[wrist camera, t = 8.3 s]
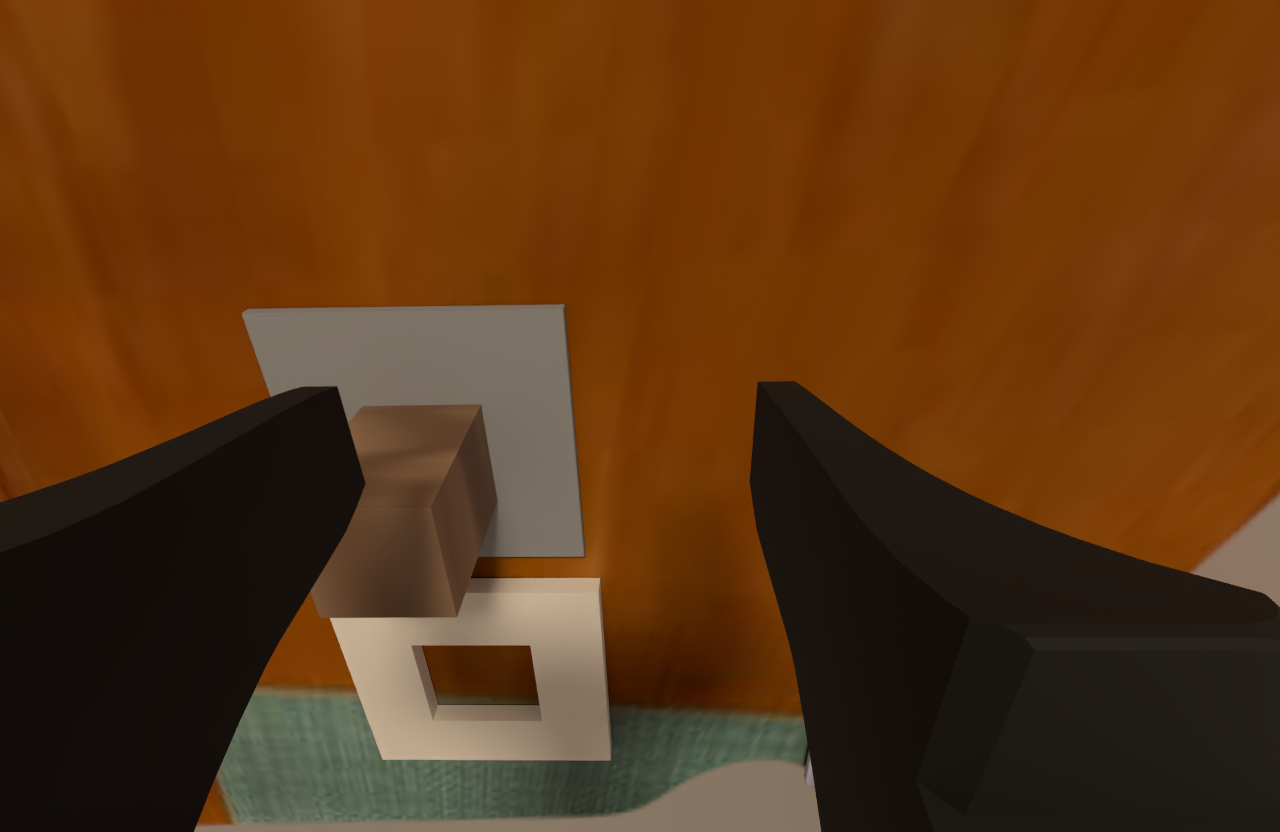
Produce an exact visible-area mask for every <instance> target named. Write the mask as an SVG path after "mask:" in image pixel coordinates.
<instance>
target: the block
mask: <svg viewBox="0 0 1280 832" xmlns="http://www.w3.org/2000/svg"><path fill="white" fill-rule="evenodd" d="M348 424H349V428H350V431H351V435H352V438H353V442H354V445H355V449H356V452H357V455H358V459H359V462H360V466H361V469H362V473H363V476H364V480H365V483H366V484H365V487H364V489H363V492H362V495H361V497H360V500H359V502H358V505H357V508H356V510H355V512H354V515H353V517H352V519H351V522H350V524H349V526H348V528H347V531H346V532H345V534H344V536H343V538H342V539H341V541H340V543H339V545H338V546H337V548H336V550H335V551H334V553H333V555H332V556H331V558H330V560H329V561H328V563H327V565H326V566H325V568H324V570H323V571H322V573H321V574H320V576H319V578H318V579H317V581H316V583H315V584H314V586H313V587H312V589H311V591H310V592H311V595H312V597H313V600H314V603H315V605H316V608H317V610H318V613H319V615H320V618H427V617H457V616H458V613H459V610H460V607H461V604H462V601H463V599H464V596H465V593H466V590H467V587H468V584H469V581H470V578H471V576H472V573H473V570H474V567H475V564H476V561H477V558H478V555H479V553H480V550H481V547H482V544H483V541H484V538H485V535H486V532H487V530H488V527H489V524H490V521H491V518H492V515H493V512H494V510H495V507H496V504H497V501H498V500H497V494H496V488H495V483H494V477H493V471H492V465H491V459H490V454H489V448H488V442H487V436H486V430H485V425H484V419H483V413H482V407H481V404H469V405H400V406H362V407H361V408H360V410H359V411H358V412H357V413H356V414H355V416H354V417H353V418H352V419H351V420H350V422H349V423H348Z"/></svg>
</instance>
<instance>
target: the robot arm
mask: <svg viewBox="0 0 1280 832" xmlns="http://www.w3.org/2000/svg"><path fill="white" fill-rule="evenodd" d="M365 484H366V483H365V480H364V476H363V473H362V469H361V466H360V462H359V459H358V455H357V452H356V449H355V445H354V442H353V438H352V435H351V431H350V428H349V424H348V421H347V418H346V414H345V411H344V407H343V404H342V400H341V397H340V393H339V390H338V387H337V386H308V387H299V388H296V389H292V390H289V391H286V392H283V393H280V394H277V395H274V396H272V397H269V398H267V399H264V400H262V401H259V402H257V403H255V404H252V405H250V406H247V407H245V408H243V409H240V410H238V411H236V412H233V413H231V414H229V415H227V416H224V417H222V418H220V419H218V420H215V421H213V422H211V423H208V424H206V425H204V426H202V427H199V428H197V429H195V430H192V431H190V432H188V433H186V434H183V435H181V436H179V437H176V438H174V439H171V440H169V441H166V442H164V443H162V444H159V445H157V446H154V447H152V448H149V449H147V450H145V451H142V452H140V453H137V454H135V455H132V456H130V457H128V458H125V459H123V460H120V461H118V462H115V463H113V464H110V465H108V466H105V467H103V468H100V469H97V470H95V471H92V472H89V473H86V474H84V475H81V476H78V477H75V478H73V479H70V480H67V481H64V482H61V483H58V484H55V485H52V486H49V487H46V488H43V489H40V490H37V491H34V492H32V493H29V494H26V495H23V496H19V497H16V498H13V499H10V500H7V501H4V502H0V832H194V830H195V827H196V825H197V822H198V820H199V817H200V815H201V812H202V810H203V807H204V804H205V802H206V799H207V797H208V794H209V792H210V789H211V786H212V784H213V782H214V779H215V777H216V775H217V772H218V770H219V768H220V766H221V763H222V761H223V759H224V756H225V754H226V752H227V749H228V747H229V745H230V742H231V740H232V738H233V735H234V733H235V731H236V729H237V726H238V724H239V722H240V719H241V717H242V715H243V713H244V711H245V709H246V707H247V705H248V703H249V700H250V698H251V696H252V694H253V692H254V690H255V688H256V686H257V684H258V681H259V679H260V677H261V675H262V673H263V671H264V669H265V667H266V665H267V663H268V661H269V659H270V657H271V656H272V654H273V652H274V650H275V648H276V647H277V645H278V643H279V641H280V639H281V638H282V636H283V635H284V633H285V631H286V630H287V628H288V626H289V625H290V623H291V622H292V620H293V618H294V617H295V615H296V613H297V612H298V610H299V609H300V607H301V605H302V604H303V602H304V600H305V599H306V597H307V596H308V594H309V592H310V591H311V589H312V587H313V586H314V584H315V583H316V581H317V579H318V578H319V576H320V574H321V573H322V571H323V570H324V568H325V566H326V565H327V563H328V561H329V560H330V558H331V556H332V555H333V553H334V551H335V550H336V548H337V546H338V545H339V543H340V541H341V539H342V538H343V536H344V534H345V532H346V531H347V528H348V526H349V524H350V522H351V519H352V517H353V515H354V512H355V510H356V508H357V505H358V502H359V500H360V497H361V495H362V492H363V489H364V487H365ZM750 486H751V493H752V501H753V508H754V515H755V521H756V528H757V532H758V536H759V539H760V543H761V547H762V550H763V554H764V557H765V561H766V564H767V568H768V571H769V575H770V578H771V582H772V585H773V589H774V592H775V595H776V599H777V602H778V606H779V609H780V613H781V616H782V620H783V623H784V627H785V630H786V633H787V637H788V641H789V645H790V649H791V653H792V657H793V662H794V666H795V672H796V677H797V683H798V689H799V694H800V700H801V706H802V711H803V717H804V723H805V729H806V735H807V741H808V748H809V752H808V758H807V763H806V769H805V774H804V776H805V781H806V784H807V785H808V786H811V787H815V791H816V798H817V804H818V811H819V818H820V825H821V832H1280V607H1279V606H1278V605H1277V604H1275V602H1274V601H1272V600H1271V599H1270V598H1269V597H1268V596H1267V595H1265V594H1263V593H1261V592H1257V591H1253V590H1250V589H1246V588H1242V587H1239V586H1235V585H1231V584H1228V583H1223V582H1220V581H1216V580H1212V579H1209V578H1205V577H1202V576H1198V575H1194V574H1191V573H1187V572H1183V571H1180V570H1176V569H1172V568H1169V567H1165V566H1161V565H1158V564H1154V563H1150V562H1147V561H1144V560H1140V559H1137V558H1134V557H1131V556H1128V555H1125V554H1122V553H1119V552H1116V551H1113V550H1110V549H1107V548H1104V547H1101V546H1098V545H1095V544H1092V543H1089V542H1086V541H1083V540H1080V539H1077V538H1074V537H1071V536H1069V535H1066V534H1063V533H1061V532H1058V531H1055V530H1052V529H1050V528H1047V527H1044V526H1042V525H1039V524H1037V523H1034V522H1032V521H1030V520H1027V519H1025V518H1022V517H1020V516H1018V515H1015V514H1013V513H1010V512H1008V511H1006V510H1003V509H1001V508H999V507H996V506H994V505H992V504H989V503H987V502H985V501H983V500H981V499H979V498H976V497H974V496H972V495H970V494H968V493H966V492H964V491H962V490H960V489H958V488H956V487H954V486H952V485H950V484H949V483H947V482H945V481H943V480H941V479H939V478H937V477H935V476H933V475H931V474H929V473H928V472H926V471H924V470H922V469H921V468H919V467H917V466H915V465H914V464H912V463H910V462H909V461H907V460H905V459H904V458H902V457H901V456H899V455H898V454H896V453H894V452H893V451H891V450H890V449H888V448H886V447H885V446H883V445H882V444H880V443H879V442H877V441H876V440H874V439H873V438H871V437H870V436H868V435H867V434H866V433H864V432H863V431H861V430H860V429H858V428H857V427H856V426H854V425H853V424H852V423H850V422H849V421H847V420H846V419H845V418H843V417H842V416H841V415H839V414H838V413H837V412H835V411H834V410H833V409H831V408H830V407H829V406H828V405H826V404H825V403H824V402H822V401H821V400H820V399H818V398H817V397H816V396H814V395H813V394H812V393H810V392H809V391H808V390H806V389H805V388H804V387H802V386H801V385H799V384H798V383H796V382H794V381H784V382H758V386H757V398H756V411H755V423H754V436H753V448H752V461H751V473H750Z"/></svg>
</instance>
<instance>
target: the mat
mask: <svg viewBox="0 0 1280 832" xmlns="http://www.w3.org/2000/svg"><path fill="white" fill-rule="evenodd" d="M242 316H243V319H244V322H245V325H246V328H247V330H248V333H249V336H250V339H251V342H252V345H253V347H254V350H255V353H256V356H257V359H258V362H259V364H260V367H261V370H262V373H263V376H264V379H265V381H266V384H267V387H268V390H269V393H270V396H271V397H272V396H274V395H277V394H280V393H283V392H286V391H289V390H292V389H296V388H299V387H308V386H337V387H338V390H339V393H340V397H341V400H342V404H343V407H344V411H345V414H346V418H347V421H348V423H349V422H350V420H351V419H352V418H353V417H354V416H355V414H356V413H357V412H358V411H359V410H360V408H361V407H362V406H400V405H469V404H481V407H482V413H483V419H484V425H485V430H486V436H487V442H488V448H489V454H490V459H491V465H492V471H493V477H494V483H495V488H496V494H497V500H498V501H497V504H496V507H495V510H494V512H493V515H492V518H491V521H490V524H489V527H488V530H487V532H486V535H485V538H484V541H483V544H482V547H481V550H480V553H479V555H478V557H584V554H585V541H584V530H583V518H582V506H581V494H580V482H579V470H578V458H577V446H576V434H575V422H574V410H573V398H572V387H571V375H570V363H569V351H568V339H567V327H566V315H565V304H563V305H490V306H418V307H345V308H272V309H248V310H246V311H244V312H243V313H242Z"/></svg>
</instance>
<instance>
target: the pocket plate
mask: <svg viewBox="0 0 1280 832" xmlns="http://www.w3.org/2000/svg"><path fill="white" fill-rule="evenodd" d="M330 620H331V622H332V625H333V628H334V630H335V633H336V636H337V638H338V641H339V644H340V646H341V649H342V652H343V654H344V657H345V660H346V662H347V665H348V668H349V670H350V673H351V676H352V678H353V681H354V684H355V687H356V689H357V692H358V695H359V697H360V700H361V703H362V705H363V708H364V711H365V713H366V716H367V719H368V721H369V724H370V727H371V729H372V732H373V735H374V737H375V740H376V743H377V745H378V748H379V751H380V753H381V756H382V759H383V760H573V761H611V749H612V741H611V727H610V713H609V698H608V684H607V670H606V656H605V642H604V628H603V614H602V599H601V585H600V578H470V581H469V584H468V587H467V590H466V593H465V596H464V599H463V601H462V604H461V607H460V610H459V613H458V616H457V617H427V618H330ZM422 645H530V647H531V653H532V660H533V666H534V673H535V679H536V685H537V692H538V698H539V705H438V702H437V699H436V695H435V692H434V688H433V684H432V681H431V677H430V674H429V670H428V667H427V663H426V660H425V656H424V652H423V649H422Z"/></svg>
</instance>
